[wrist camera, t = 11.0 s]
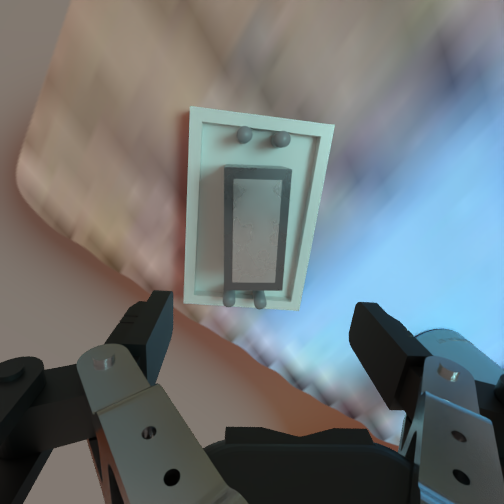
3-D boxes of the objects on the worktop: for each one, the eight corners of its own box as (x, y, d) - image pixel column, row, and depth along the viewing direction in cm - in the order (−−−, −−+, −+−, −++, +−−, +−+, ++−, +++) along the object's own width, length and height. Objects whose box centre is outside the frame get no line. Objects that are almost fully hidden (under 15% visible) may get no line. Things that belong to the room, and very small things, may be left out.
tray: (294, 300, 31) (303, 321, 27) (187, 292, 30) (179, 314, 26) (326, 127, 25) (343, 122, 21) (193, 109, 24) (185, 101, 20)
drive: (274, 267, 29) (282, 291, 24) (225, 267, 28) (223, 290, 23) (281, 166, 25) (292, 169, 20) (225, 164, 25) (223, 167, 20)
